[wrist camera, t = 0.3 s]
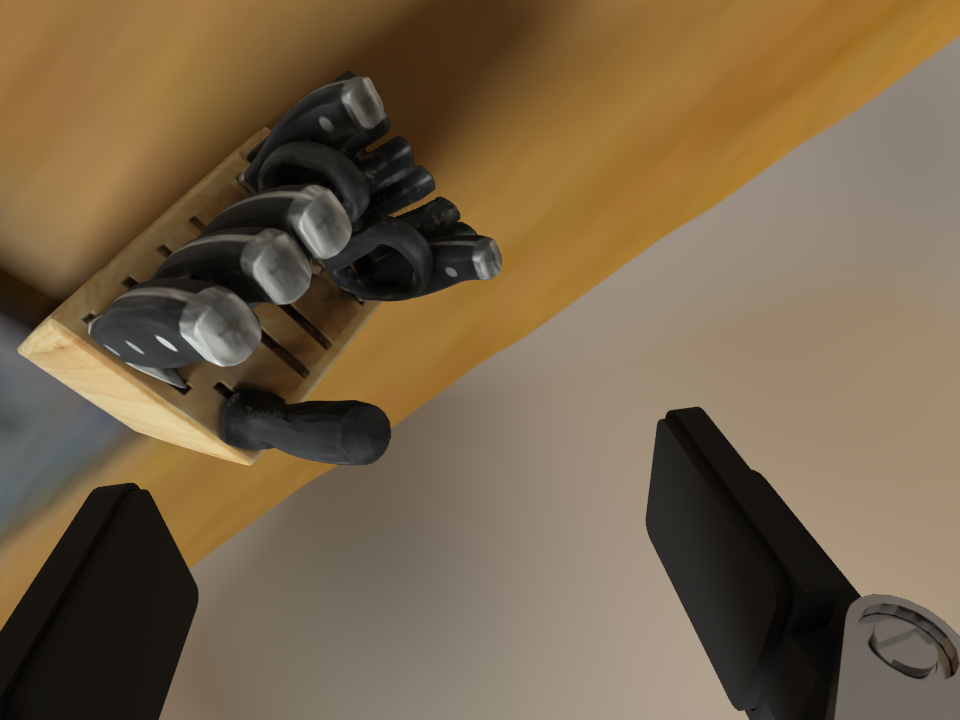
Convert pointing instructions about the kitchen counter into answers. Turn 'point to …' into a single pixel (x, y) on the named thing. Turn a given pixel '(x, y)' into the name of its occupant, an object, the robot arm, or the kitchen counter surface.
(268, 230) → the knife block
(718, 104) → the kitchen counter surface
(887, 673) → the robot arm
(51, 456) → the kitchen counter surface
